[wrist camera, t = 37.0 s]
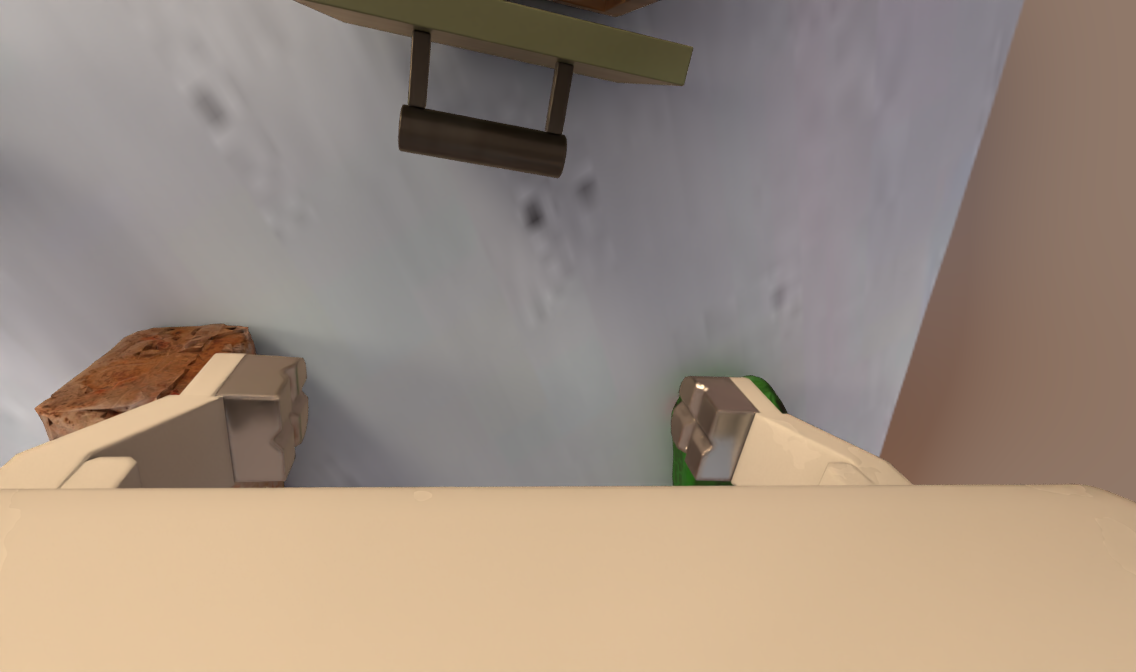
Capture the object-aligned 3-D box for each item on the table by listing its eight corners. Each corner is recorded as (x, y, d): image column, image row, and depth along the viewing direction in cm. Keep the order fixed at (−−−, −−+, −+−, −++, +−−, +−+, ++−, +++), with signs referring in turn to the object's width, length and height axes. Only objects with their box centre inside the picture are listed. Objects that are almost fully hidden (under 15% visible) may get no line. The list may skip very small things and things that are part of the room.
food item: (306, 511, 35) (253, 656, 26) (170, 520, 34) (66, 677, 25) (269, 319, 29) (185, 424, 20) (102, 321, 28) (-65, 435, 19)
